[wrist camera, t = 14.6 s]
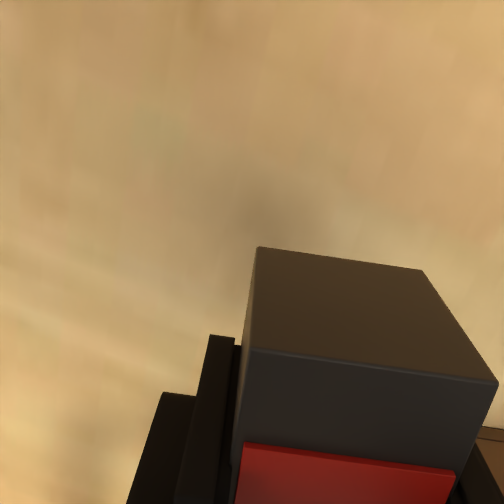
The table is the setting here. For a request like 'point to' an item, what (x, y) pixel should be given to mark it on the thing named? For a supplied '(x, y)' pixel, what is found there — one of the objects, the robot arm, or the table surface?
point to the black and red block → (352, 386)
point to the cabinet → (493, 452)
